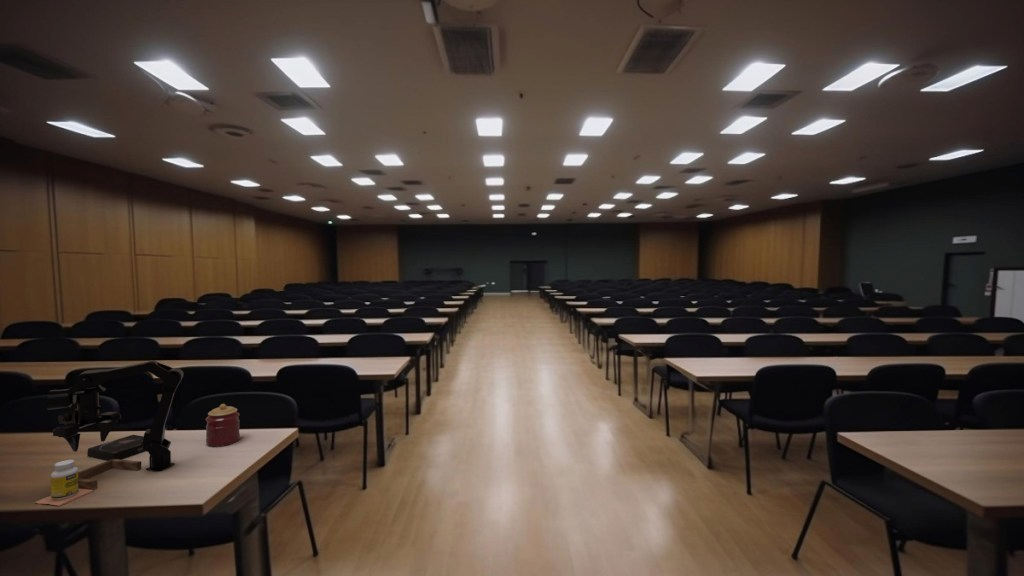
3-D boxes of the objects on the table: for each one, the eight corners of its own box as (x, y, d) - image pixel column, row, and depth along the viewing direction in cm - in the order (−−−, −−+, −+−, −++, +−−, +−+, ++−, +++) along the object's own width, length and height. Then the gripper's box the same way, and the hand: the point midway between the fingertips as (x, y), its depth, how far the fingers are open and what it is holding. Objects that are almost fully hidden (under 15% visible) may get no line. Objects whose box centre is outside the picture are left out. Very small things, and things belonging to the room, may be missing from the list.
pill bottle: (60, 501, 142) (59, 467, 141) (45, 499, 143) (45, 465, 143) (83, 492, 148) (83, 459, 148) (69, 490, 149) (68, 457, 149)
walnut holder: (141, 468, 167) (141, 461, 167) (92, 490, 150) (92, 482, 150) (112, 466, 169) (112, 458, 169) (61, 487, 152) (61, 478, 152)
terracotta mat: (93, 491, 150) (93, 490, 150) (59, 506, 140) (59, 505, 140) (70, 488, 151) (70, 487, 151) (34, 503, 141) (34, 502, 141)
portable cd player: (132, 442, 194) (132, 434, 193) (158, 447, 188) (158, 439, 188) (87, 457, 178) (87, 448, 178) (114, 463, 173) (113, 453, 173)
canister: (246, 437, 201) (246, 400, 200) (225, 448, 188) (225, 409, 187) (221, 435, 202) (220, 399, 201) (198, 446, 189) (198, 407, 188)
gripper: (96, 396, 167) (97, 435, 168) (38, 412, 149) (40, 455, 149) (121, 397, 166) (122, 437, 166) (66, 413, 147) (67, 457, 148)
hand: (89, 446), depth 157 cm, fingers open, 9 cm apart
